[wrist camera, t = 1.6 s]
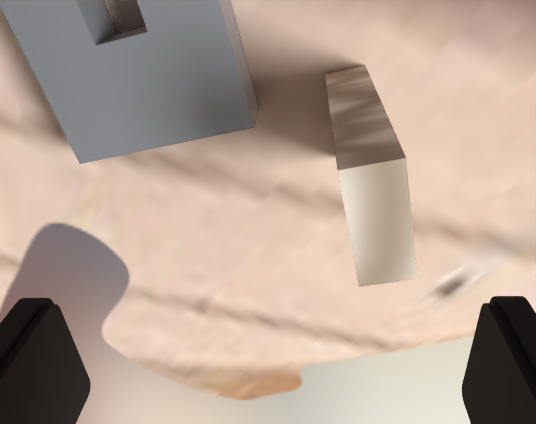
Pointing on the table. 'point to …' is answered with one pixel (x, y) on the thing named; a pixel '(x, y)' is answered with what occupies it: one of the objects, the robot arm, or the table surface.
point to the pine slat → (371, 180)
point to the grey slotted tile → (136, 72)
